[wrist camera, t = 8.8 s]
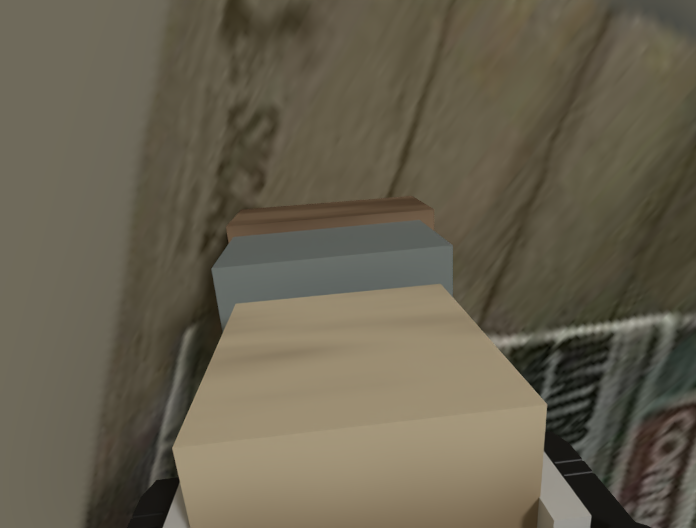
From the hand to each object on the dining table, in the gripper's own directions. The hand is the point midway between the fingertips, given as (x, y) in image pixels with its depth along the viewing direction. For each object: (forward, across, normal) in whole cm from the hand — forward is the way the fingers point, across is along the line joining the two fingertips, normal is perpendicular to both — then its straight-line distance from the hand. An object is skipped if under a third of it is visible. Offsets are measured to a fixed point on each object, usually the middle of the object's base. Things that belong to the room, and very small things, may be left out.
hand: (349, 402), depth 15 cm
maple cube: (+1, 0, 0) cm, 1 cm away
